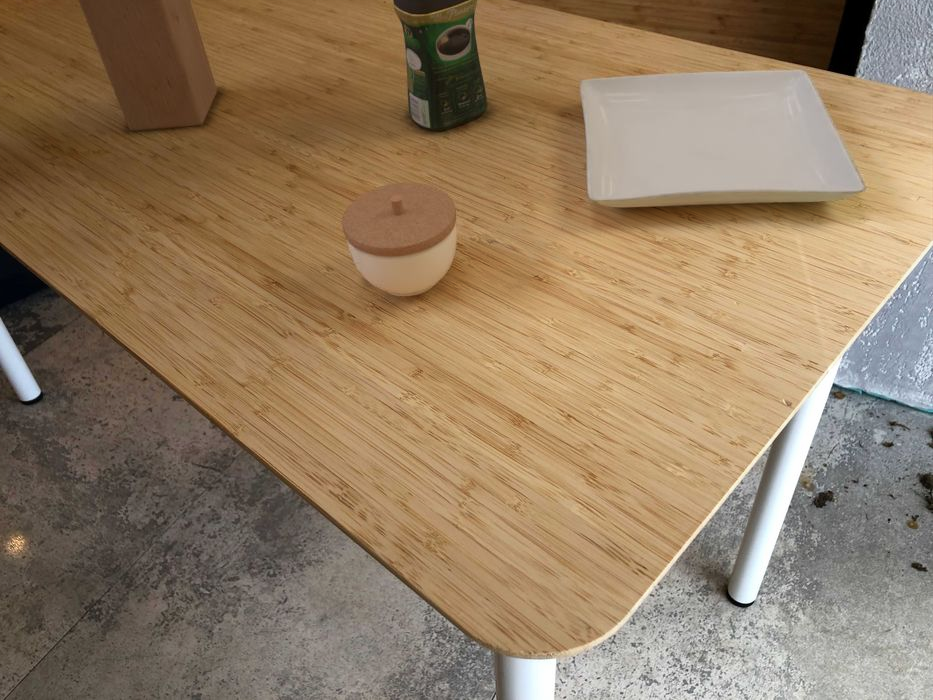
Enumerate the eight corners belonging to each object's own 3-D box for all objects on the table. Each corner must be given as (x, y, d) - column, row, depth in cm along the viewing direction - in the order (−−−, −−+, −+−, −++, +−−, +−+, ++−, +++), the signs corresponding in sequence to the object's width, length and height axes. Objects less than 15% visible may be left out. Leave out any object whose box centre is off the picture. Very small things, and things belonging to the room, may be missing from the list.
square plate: (862, 220, 85) (871, 187, 82) (587, 229, 88) (587, 197, 85) (802, 93, 105) (808, 63, 102) (578, 103, 107) (578, 74, 105)
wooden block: (203, 127, 112) (152, -30, 98) (129, 133, 112) (67, -23, 98) (218, 91, 119) (173, -59, 105) (149, 97, 119) (94, -52, 106)
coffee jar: (464, 92, 112) (450, -55, 100) (496, 115, 107) (486, -38, 94) (400, 116, 109) (377, -34, 96) (430, 140, 104) (411, -14, 91)
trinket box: (387, 328, 79) (371, 247, 73) (338, 272, 86) (319, 194, 80) (483, 284, 83) (476, 203, 76) (428, 233, 90) (417, 155, 83)
